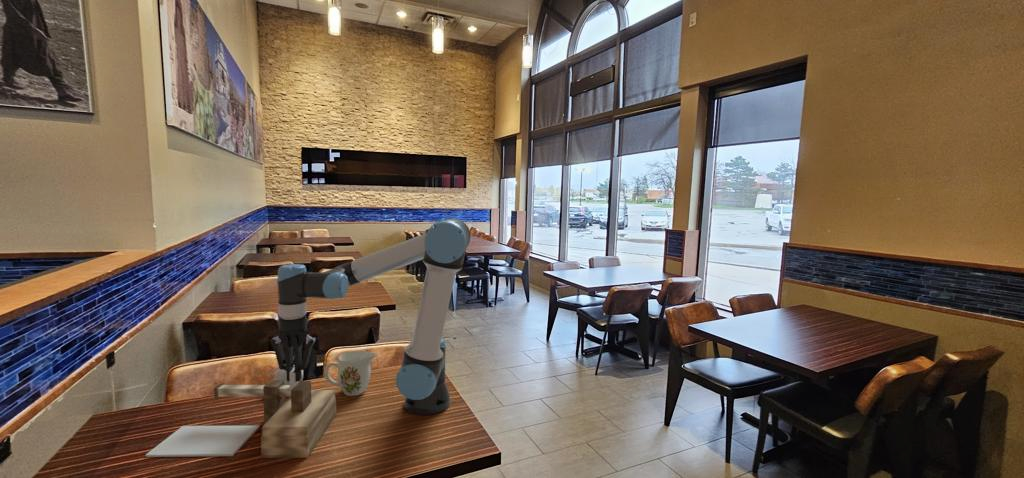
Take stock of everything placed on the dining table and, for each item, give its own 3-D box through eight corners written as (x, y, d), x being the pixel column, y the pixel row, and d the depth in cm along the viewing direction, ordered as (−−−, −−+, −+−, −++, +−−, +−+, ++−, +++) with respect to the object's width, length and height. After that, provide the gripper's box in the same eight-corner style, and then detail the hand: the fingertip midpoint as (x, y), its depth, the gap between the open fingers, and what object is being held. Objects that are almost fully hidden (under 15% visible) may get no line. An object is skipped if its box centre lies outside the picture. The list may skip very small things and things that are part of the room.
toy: (277, 393, 158) (267, 403, 144) (267, 371, 158) (257, 379, 144) (313, 376, 162) (307, 384, 148) (304, 355, 162) (297, 361, 148)
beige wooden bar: (294, 393, 132) (294, 383, 131) (289, 398, 129) (289, 388, 128) (221, 393, 130) (220, 383, 130) (214, 398, 127) (214, 388, 127)
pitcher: (330, 385, 156) (329, 349, 155) (380, 384, 158) (380, 348, 157) (320, 399, 145) (319, 361, 144) (374, 398, 147) (374, 360, 146)
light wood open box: (336, 414, 136) (335, 377, 135) (307, 457, 114) (307, 413, 113) (274, 415, 135) (273, 377, 133) (234, 458, 113) (232, 413, 111)
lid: (334, 397, 135) (334, 370, 134) (307, 435, 114) (306, 403, 113) (297, 397, 134) (296, 370, 133) (262, 435, 113) (261, 403, 112)
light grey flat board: (259, 427, 128) (259, 425, 127) (232, 456, 114) (232, 453, 114) (182, 427, 126) (182, 425, 126) (145, 456, 112) (145, 454, 112)
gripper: (319, 312, 132) (320, 385, 134) (276, 312, 131) (278, 385, 133) (310, 319, 124) (311, 396, 127) (263, 319, 123) (266, 396, 126)
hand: (294, 390), depth 130 cm, fingers closed
